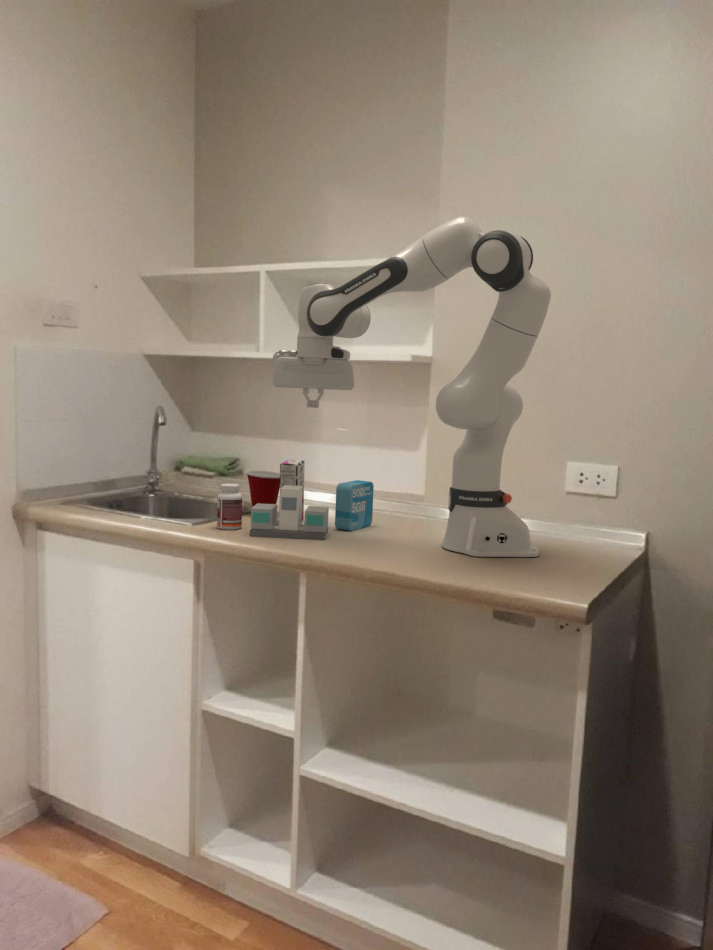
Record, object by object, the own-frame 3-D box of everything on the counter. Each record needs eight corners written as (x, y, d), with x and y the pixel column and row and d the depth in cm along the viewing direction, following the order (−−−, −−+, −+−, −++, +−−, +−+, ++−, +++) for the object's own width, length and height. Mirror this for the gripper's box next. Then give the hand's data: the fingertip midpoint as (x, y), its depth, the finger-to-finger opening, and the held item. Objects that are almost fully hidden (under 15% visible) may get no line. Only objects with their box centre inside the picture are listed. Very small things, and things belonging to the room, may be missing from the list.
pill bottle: (246, 527, 189) (247, 484, 188) (231, 531, 184) (232, 487, 182) (227, 524, 192) (228, 482, 191) (211, 528, 187) (212, 484, 185)
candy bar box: (285, 518, 205) (287, 459, 203) (303, 519, 204) (305, 459, 202) (277, 525, 194) (279, 462, 192) (296, 526, 193) (298, 463, 191)
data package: (349, 532, 189) (351, 485, 188) (334, 529, 191) (336, 483, 190) (372, 525, 199) (374, 481, 198) (357, 523, 202) (359, 479, 200)
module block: (301, 525, 186) (302, 486, 185) (297, 530, 179) (298, 489, 178) (283, 524, 187) (284, 485, 185) (278, 530, 179) (280, 489, 178)
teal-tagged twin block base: (328, 532, 188) (329, 506, 187) (324, 539, 178) (325, 512, 177) (257, 528, 189) (258, 502, 188) (249, 536, 179) (250, 509, 178)
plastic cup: (273, 519, 203) (274, 475, 201) (238, 515, 206) (239, 472, 205) (289, 513, 213) (291, 471, 211) (255, 510, 216) (257, 469, 215)
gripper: (270, 348, 181) (269, 405, 183) (354, 352, 180) (352, 409, 182) (275, 350, 187) (273, 405, 189) (356, 353, 186) (353, 408, 188)
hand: (312, 407), depth 185 cm, fingers closed
